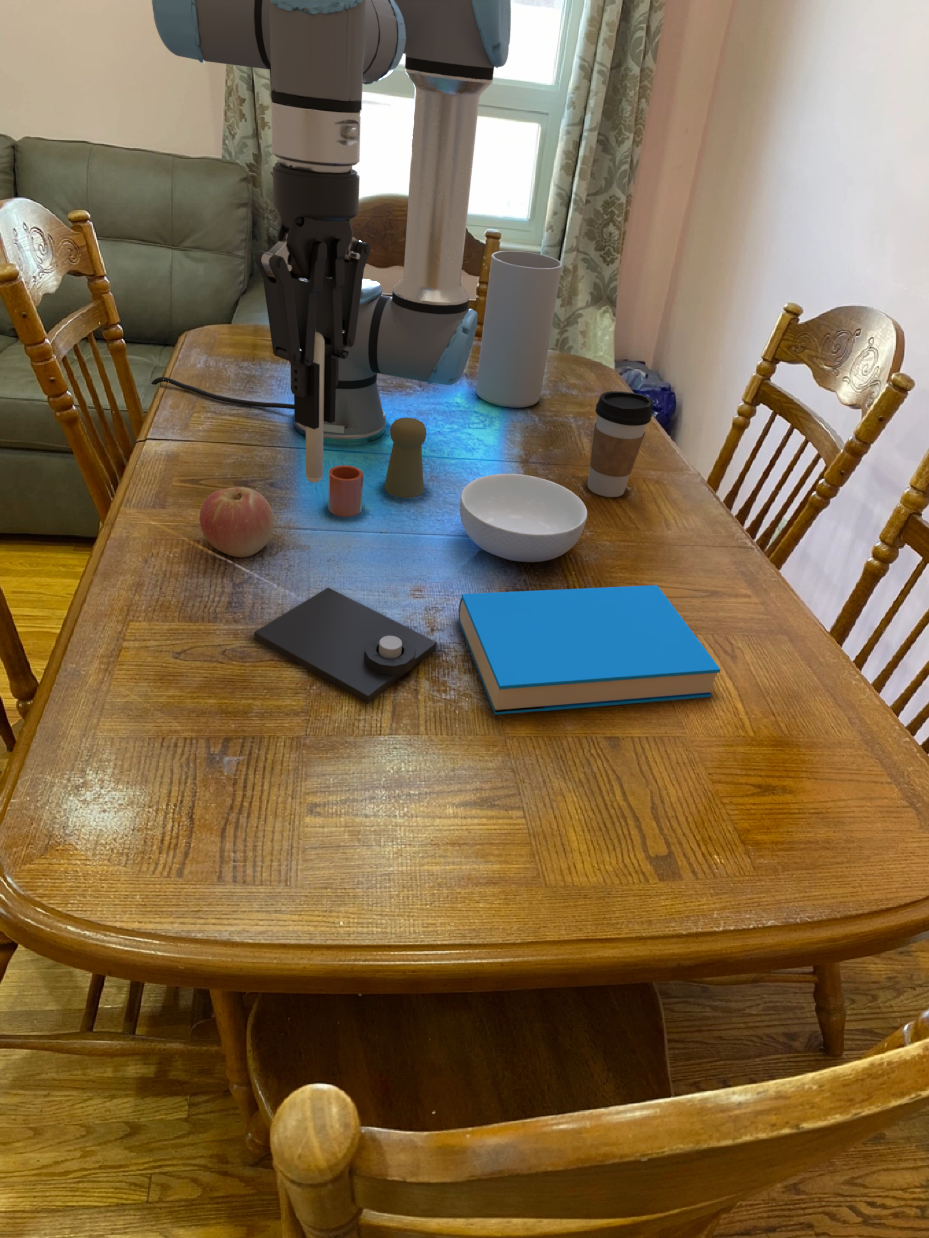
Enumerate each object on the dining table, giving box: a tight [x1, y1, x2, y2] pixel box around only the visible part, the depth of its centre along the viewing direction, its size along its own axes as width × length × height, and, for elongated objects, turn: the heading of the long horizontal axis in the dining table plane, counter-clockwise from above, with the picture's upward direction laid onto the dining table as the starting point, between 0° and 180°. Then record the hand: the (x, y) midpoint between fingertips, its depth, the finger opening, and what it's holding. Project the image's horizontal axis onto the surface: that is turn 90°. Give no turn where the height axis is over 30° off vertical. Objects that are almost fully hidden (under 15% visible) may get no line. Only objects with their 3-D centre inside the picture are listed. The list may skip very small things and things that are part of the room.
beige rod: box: [305, 332, 325, 484], centre depth 84 cm, size 2×2×16 cm
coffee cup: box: [587, 390, 654, 498], centre depth 126 cm, size 8×8×15 cm
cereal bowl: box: [459, 473, 588, 563], centre depth 110 cm, size 17×17×7 cm
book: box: [458, 584, 721, 715], centre depth 93 cm, size 17×4×25 cm
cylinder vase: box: [475, 250, 563, 409], centre depth 152 cm, size 12×12×25 cm
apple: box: [199, 486, 275, 558], centre depth 102 cm, size 9×9×8 cm
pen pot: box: [327, 464, 364, 518], centre depth 113 cm, size 5×5×6 cm
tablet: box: [253, 587, 438, 704], centre depth 90 cm, size 17×12×2 cm
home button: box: [379, 636, 402, 659], centre depth 87 cm, size 2×2×1 cm
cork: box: [384, 417, 427, 499], centre depth 119 cm, size 6×6×11 cm
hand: (314, 421), depth 85 cm, fingers closed on beige rod, 2 cm apart
